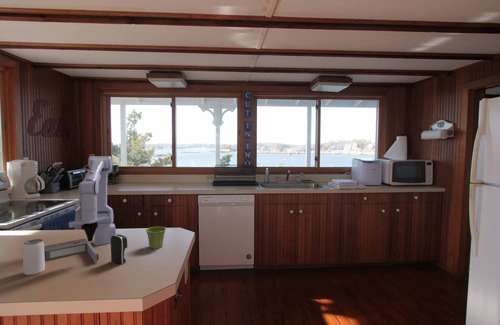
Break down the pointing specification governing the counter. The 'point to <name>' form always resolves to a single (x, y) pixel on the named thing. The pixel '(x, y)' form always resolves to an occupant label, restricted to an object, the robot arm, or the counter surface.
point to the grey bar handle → (92, 253)
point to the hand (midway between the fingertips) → (90, 240)
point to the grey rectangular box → (65, 249)
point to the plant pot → (155, 236)
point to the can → (33, 257)
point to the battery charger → (118, 248)
